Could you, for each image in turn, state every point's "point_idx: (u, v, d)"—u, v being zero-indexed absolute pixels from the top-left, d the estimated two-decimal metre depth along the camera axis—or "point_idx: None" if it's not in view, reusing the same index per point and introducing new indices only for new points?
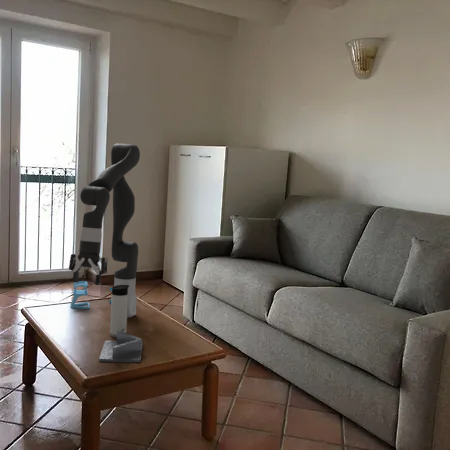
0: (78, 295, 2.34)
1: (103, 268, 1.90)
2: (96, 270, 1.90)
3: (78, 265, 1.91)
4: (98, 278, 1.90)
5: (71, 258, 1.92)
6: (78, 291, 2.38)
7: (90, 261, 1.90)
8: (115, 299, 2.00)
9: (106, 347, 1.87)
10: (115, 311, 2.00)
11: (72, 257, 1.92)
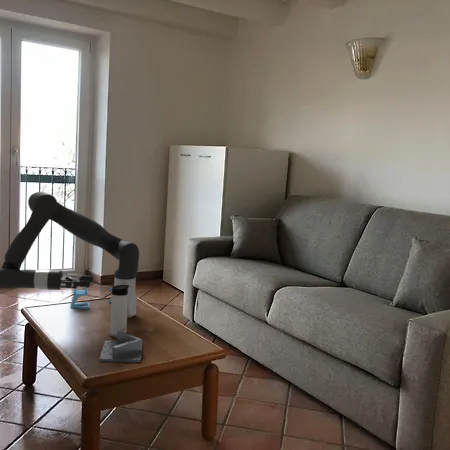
0: (78, 295, 2.34)
1: (71, 287, 1.93)
2: None
3: None
4: (82, 286, 1.95)
5: None
6: (78, 291, 2.38)
7: None
8: (115, 299, 2.00)
9: (106, 347, 1.87)
10: (115, 311, 2.00)
11: None
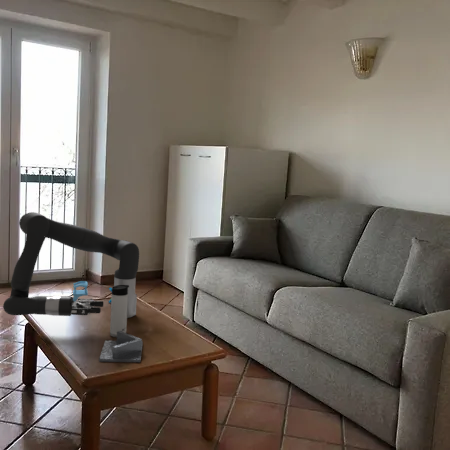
0: (78, 295, 2.34)
1: (82, 314, 1.95)
2: None
3: None
4: (93, 312, 1.97)
5: None
6: (78, 291, 2.38)
7: None
8: (115, 299, 2.00)
9: (106, 347, 1.87)
10: (115, 311, 2.00)
11: None
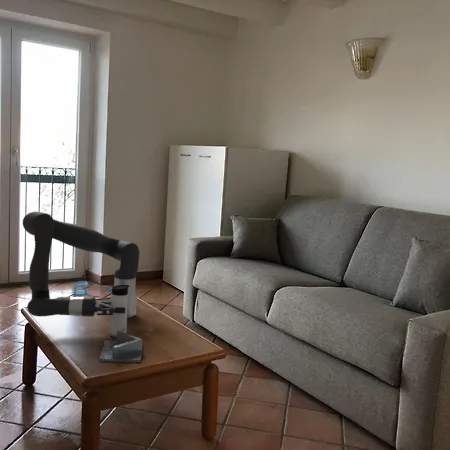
0: (78, 295, 2.34)
1: (107, 314, 1.97)
2: None
3: None
4: (118, 312, 1.99)
5: None
6: (78, 291, 2.38)
7: None
8: (115, 299, 2.00)
9: (106, 347, 1.87)
10: None
11: None
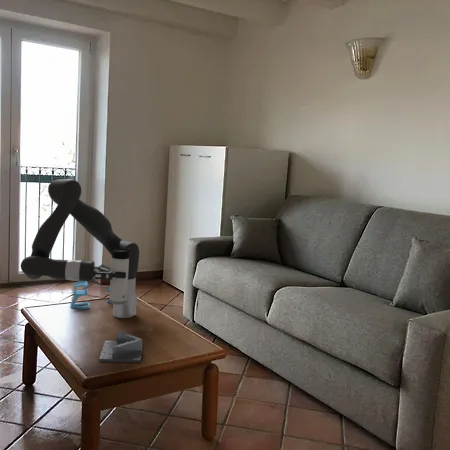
0: (78, 295, 2.34)
1: None
2: None
3: None
4: None
5: None
6: (78, 291, 2.38)
7: None
8: (115, 263, 1.85)
9: (106, 347, 1.87)
10: None
11: None
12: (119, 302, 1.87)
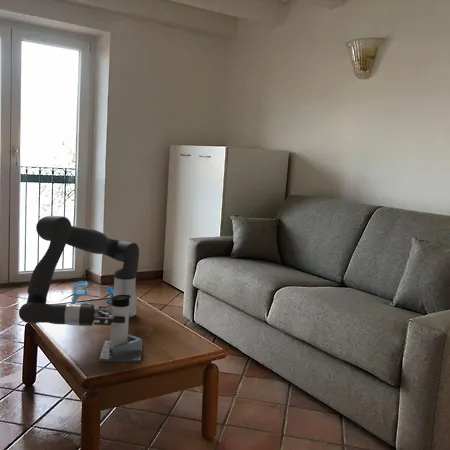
0: (78, 295, 2.34)
1: (105, 324, 1.78)
2: None
3: None
4: None
5: None
6: (78, 291, 2.38)
7: None
8: (115, 311, 1.82)
9: (106, 347, 1.87)
10: (115, 324, 1.82)
11: None
12: None
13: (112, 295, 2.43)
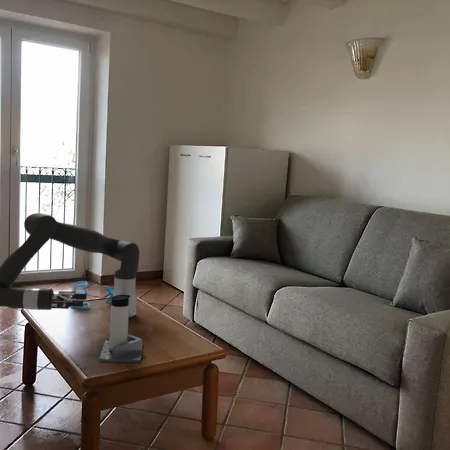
0: None
1: None
2: None
3: None
4: (75, 305, 1.83)
5: None
6: (78, 291, 2.38)
7: None
8: (115, 311, 1.82)
9: (106, 347, 1.87)
10: (115, 324, 1.82)
11: None
12: None
13: (111, 295, 2.43)
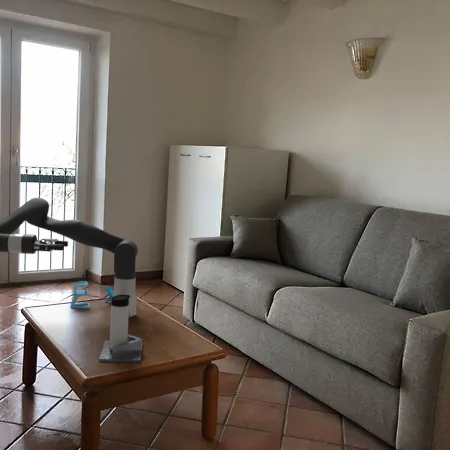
0: (78, 295, 2.34)
1: (44, 250, 1.95)
2: None
3: None
4: (56, 249, 1.97)
5: None
6: (78, 291, 2.38)
7: None
8: (115, 311, 1.82)
9: (106, 347, 1.87)
10: (115, 324, 1.82)
11: None
12: None
13: (110, 295, 2.43)
